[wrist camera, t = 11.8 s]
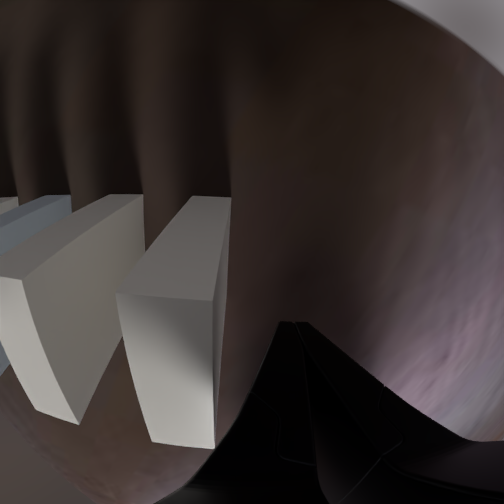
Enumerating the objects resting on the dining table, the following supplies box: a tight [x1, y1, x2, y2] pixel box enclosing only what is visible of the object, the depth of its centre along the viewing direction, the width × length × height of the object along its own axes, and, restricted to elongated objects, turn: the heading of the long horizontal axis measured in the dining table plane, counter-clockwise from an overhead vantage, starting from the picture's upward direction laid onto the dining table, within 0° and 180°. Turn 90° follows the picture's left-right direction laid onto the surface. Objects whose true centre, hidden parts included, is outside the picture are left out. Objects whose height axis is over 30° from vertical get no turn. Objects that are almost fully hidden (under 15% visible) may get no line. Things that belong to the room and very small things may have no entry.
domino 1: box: [0, 195, 72, 376], centre depth 10 cm, size 2×5×9 cm, turn 175°
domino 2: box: [0, 194, 145, 425], centre depth 10 cm, size 2×5×9 cm, turn 176°
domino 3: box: [115, 196, 231, 449], centre depth 10 cm, size 2×5×9 cm, turn 176°
